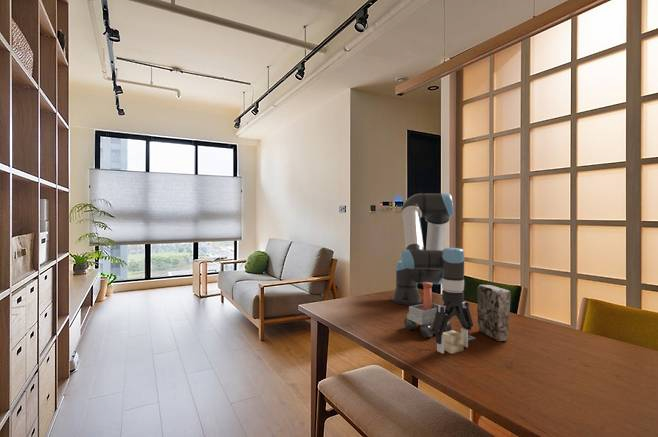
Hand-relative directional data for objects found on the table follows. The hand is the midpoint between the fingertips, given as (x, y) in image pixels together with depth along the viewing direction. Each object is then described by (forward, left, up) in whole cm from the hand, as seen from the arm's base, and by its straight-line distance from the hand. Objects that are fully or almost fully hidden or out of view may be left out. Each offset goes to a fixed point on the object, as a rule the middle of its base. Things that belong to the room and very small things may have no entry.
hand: (452, 349), depth 125 cm
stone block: (-25, -3, 0) cm, 25 cm away
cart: (-5, -19, 0) cm, 19 cm away
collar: (-12, -6, 0) cm, 13 cm away
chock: (0, 0, 0) cm, 0 cm away
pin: (-5, -19, +7) cm, 21 cm away
